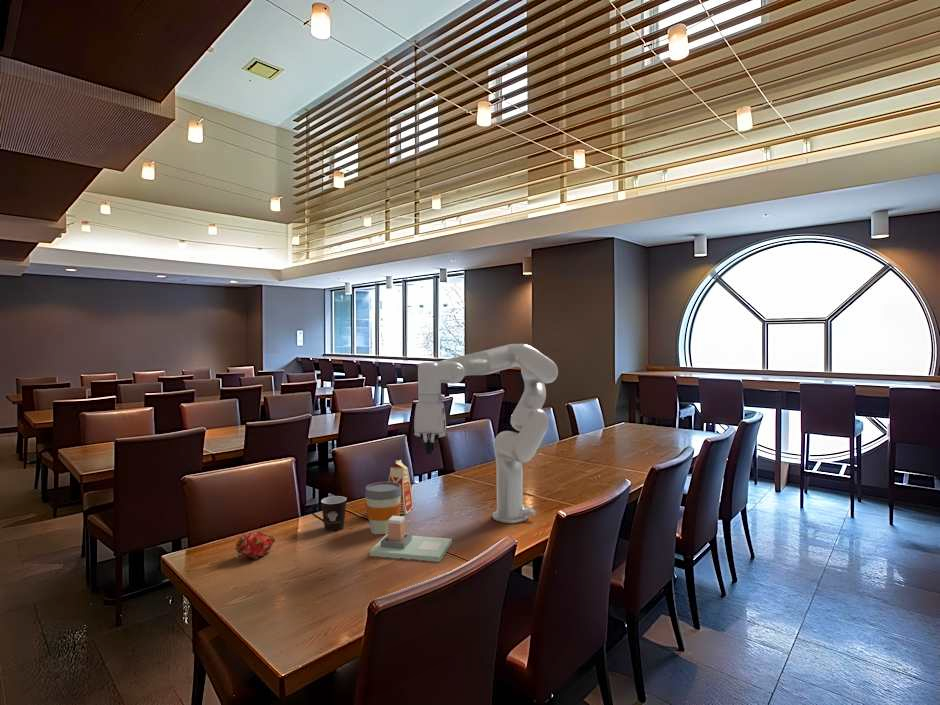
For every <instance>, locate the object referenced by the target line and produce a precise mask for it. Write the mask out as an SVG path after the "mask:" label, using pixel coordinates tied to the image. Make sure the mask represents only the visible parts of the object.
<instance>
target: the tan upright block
mask: <svg viewBox="0 0 940 705" xmlns="http://www.w3.org/2000/svg"><path fill="white" fill-rule="evenodd" d="M405 518H406V515H402V516H401V515H399V516H392V517H391V518H390V519H389V520H388V541H398V542H402V541H403V540H404V539H405V534H406V519H405Z"/></svg>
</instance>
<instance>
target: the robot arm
mask: <svg viewBox="0 0 940 705" xmlns="http://www.w3.org/2000/svg"><path fill="white" fill-rule="evenodd" d="M512 368H520V372H521V376H522V379H523V384H524V389H523V393H522V395H521V397H520V399H519V401H518V402H517V405H516V407H515V409H514V410H513V412H512V414H511V416H510V425H511V427H512V428H513V429H515V430H516V431H519V432H515V431H510V430H504V431H501V432H499V433H498V434H497V435H496V436H495V439H494V440H493V450H494V455H495V456H494V458H495V464H496V465H495V466H496V511H494V512H492V518H493V520H495V521H497V522H499V523H504V524H518V522H519V523H523V522H525V521H526V520H527V519H528V516H529V515H530V516H535V515H536V510H535V509H533V507H526V506H525V503H523V502H524V498H523V497H524V494H523V490H524V489H523V480H524V479H523V476H524V475H523V471H524V470H523V464H524V463H527V462H529V461H530V460H531V459H533V458H534V456H535V455H536V453H537V451H538V449H539V447H540V445H541V443H542V441H543V439H544V438H545V436H546V434H547V431H548V430H549V424H550V422H549V420H550V419H549V416H548V415H547V413H546V411H544V410H543V406H544V404H545V402H546V399H547V390H546V385H545V384H551V383H553V382H555V381H556V380H557V378H558V375H559V369H558V366H557V364H556V363H555V361H554V360H552V359H550V357H548V356H546V355H545V354H543V353H542V352H541V351H539V350H538V349H536V348H534V347H533V346H532V345H529V344H527V343H512V344H511V343H510V344H509V343H508V344H506V345H501V346H497V347H493V348H490V349H486V350H481V351H477V352H472V353H469V354H463V355H460V356H459V355H458V356H454V357H451V358H447V359H443V360H439V361H438V362H429V361H427V362H421V363H419V364H418V366H417V390H418V391H417V392H418V393H417V396H418V398H417V399H418V400H417V401H418V402H417V403H416V406H415V411H414V422H413V423H414V424H413V425H414V434H413V435H414V436H416V437H420V438H421V440H422V441H423V442H424V447H425V448H424V451H425V452H426V455H432V454H434V452H436V441H437V440H438V439H439V438H443V437H445V436H446V435H447V434H446V429H447V419H446V411H445V404H444V402H442V401H445V399H446V396H445V395H442V392H441V391H442V389H441V387H442V386H441V385H442V384H453V385H454V384H458V383H460V382H462V381H463V379H464V378H465V377H466V376H485V375H491V374H494V373H497V372H501V371H505V370H508V369H512ZM430 435H431V436H430ZM522 463H523V464H522Z"/></svg>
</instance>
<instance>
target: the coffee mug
mask: <svg viewBox="0 0 940 705" xmlns="http://www.w3.org/2000/svg"><path fill="white" fill-rule="evenodd" d="M347 501H348V500H347V497H345V496H341V495H340V496H339V495H333V496H327V497H324V498H322V499H321V501H320V502H321V503H320V504H319V503H315V504H313V505H311V506H310V509H309V512H310V513H311V515H312V516H313V517H314V518H316V519H317V520H318V519H319V520H320V521H322V522H323V527H324V531H325V530H326V532H328V531H329V532H330V531H333V532H332V533H335V531H336V532H340V531H342V530H344V528H345V518H346V509H347ZM314 507H319V508H320V510H321V511H322V517H320V516H318V515H317V514H315V513H314V512H313V508H314ZM339 530H340V531H339ZM329 532H328V533H329ZM330 533H331V532H330Z"/></svg>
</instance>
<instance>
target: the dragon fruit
mask: <svg viewBox="0 0 940 705" xmlns="http://www.w3.org/2000/svg"><path fill="white" fill-rule="evenodd" d="M275 540H276V539H275V538H274V537H273V536H272V535H271V534H268V533H267V534H266V533H263V530H259V531H258V532H255V531H254V530H253V531H251V532H250V533H243V534H242V536H241V537H240V538H239V539H238V540H237V542H236V543H235V544H236V545H235V546H236V547H235V548H234V549H235V551H236V552H237V553H238V554H237V557H239V558H243V557H245V559H246V560H250V558H251V559H253V560H257V559H258V557H266V556H268V554H270V552H269V551H270V550H271V548H272V546H273V545H274V543H275V542H276V541H275ZM265 555H266V556H265Z"/></svg>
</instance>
